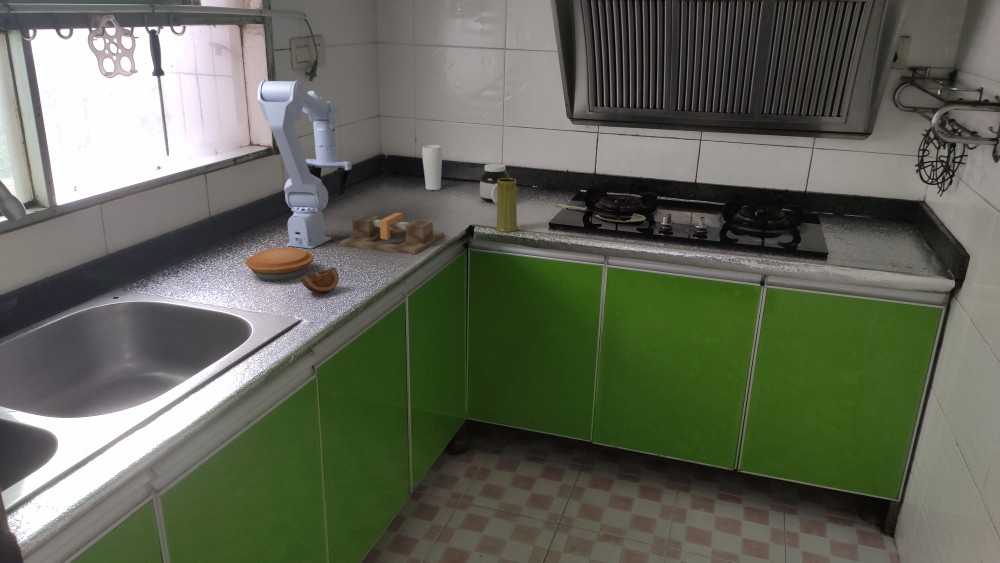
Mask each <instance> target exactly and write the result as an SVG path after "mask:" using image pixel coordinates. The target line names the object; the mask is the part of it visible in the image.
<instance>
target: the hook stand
mask: <svg viewBox="0 0 1000 563" xmlns="http://www.w3.org/2000/svg"><path fill="white" fill-rule="evenodd" d="M380 220H381V218H380V215H369V214H363V215H360V216H359V217H358V216H357V217H356V218H353V219H352V220H351V221H352V224H351V225H352V235H351V236H349V237H346V238H344V239H343V240H341V241H339V246H342V247H350V248H358V249H366V250H367V249H368V250H375V251H384V252H392V253H402V254H409V255H416V254H417V253H419V252H420V251H422V250H424V249H426V248H427V247H428V246H430V245H432V244H433V243H435V242H436V241H438V240H439V239H441V238H443V237H444V236H445V232H444V231H435V230H433V229H434V228H433V224H434V223H433V221H430V220H421V219H420V220H419V219H415V220H412V221H411V222H406V221H403V222H395V223H393V224H391V225H389V226H390V234H392V235H400V236H401V235H402V236H403V235H404V236H405V241H404V242H402V243H400V244H394V243H384V242H378V241H377V242H376V240H378V239H380V238H381V235H380ZM394 229H401V230H403V231H402V232H394Z"/></svg>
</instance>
